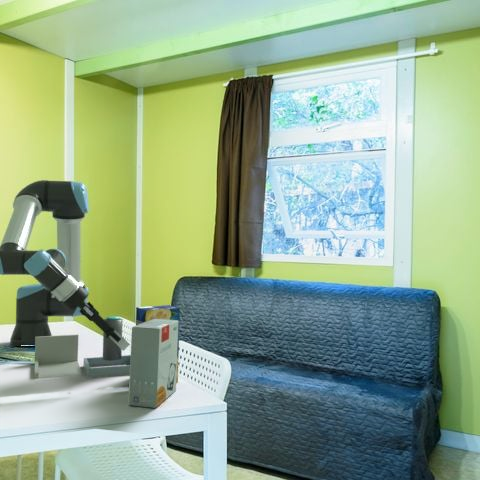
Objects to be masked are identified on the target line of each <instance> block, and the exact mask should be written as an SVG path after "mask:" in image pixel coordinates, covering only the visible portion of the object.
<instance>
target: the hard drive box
mask: <svg viewBox="0 0 480 480" xmlns="http://www.w3.org/2000/svg"><path fill="white" fill-rule="evenodd" d="M130 337H131V338H130V339H131V341H130V342H131V343H130V355H131V359H130V374H129V385H128V401H127V402H128V406H135V407H142V408H143V407H144V408H151V409H152V408H153V409H155V408H157V407H159V406H161V404H163V402H165V400H167V399H168V398H170V395H171V394H172V393H173V394H174V393H175V392H176V391H177V382H176V374H177V346H178V320H165V319H153V320H150V321H147V322H145V323H142V324H139V325H136V324H135V325H134V326H132V327H131V336H130ZM173 394H172V395H173ZM172 395H171V396H172Z"/></svg>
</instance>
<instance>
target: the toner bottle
mask: <svg viewBox="0 0 480 480" xmlns="http://www.w3.org/2000/svg"><path fill="white" fill-rule="evenodd" d="M103 319H104V320H105V321H106V322H107V323H108V324H109V325H110V326H111V327H112V328H114V330H116V331H117V332H118V333H119V334H120V335H121V336H122V337H123V320H124V319H123V318H121V317H120V316H107V317H106V318H103ZM102 332H103V331H102ZM106 336H107V335H106V334H105V333H104V332H103V337H102V357H103V360H108V361H113V360H119V359H121V356H123V355H122V354H123V353H122V352H123V350H122V349H121V348H120V347H119V346H118V345H117V344H116V343H115V342H113V341H112V340H111V339H110V338H109V337H108V338H106Z"/></svg>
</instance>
